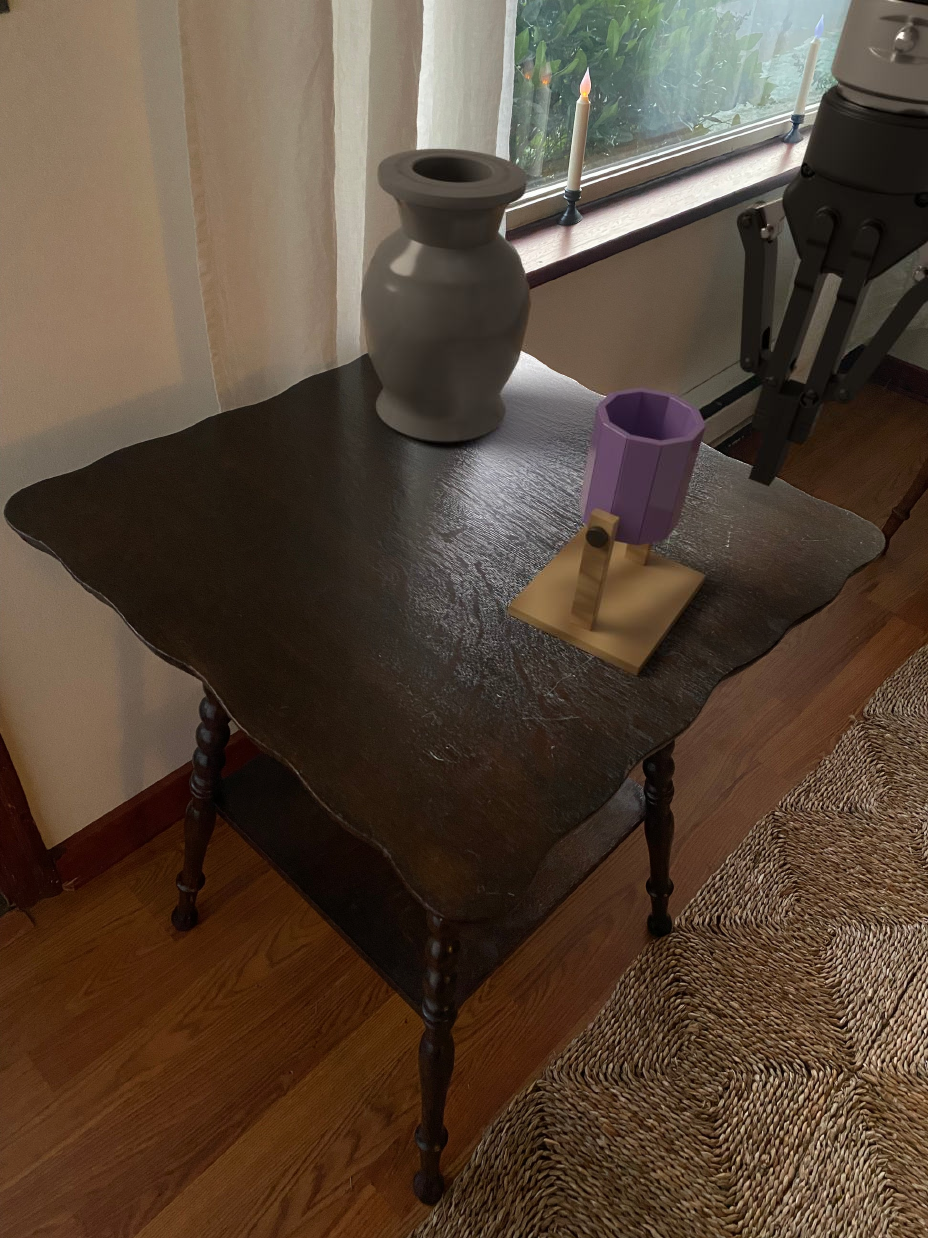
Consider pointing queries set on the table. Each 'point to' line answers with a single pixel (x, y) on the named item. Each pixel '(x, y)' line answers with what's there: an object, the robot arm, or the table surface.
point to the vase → (446, 295)
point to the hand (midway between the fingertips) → (765, 473)
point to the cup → (641, 462)
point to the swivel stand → (608, 595)
